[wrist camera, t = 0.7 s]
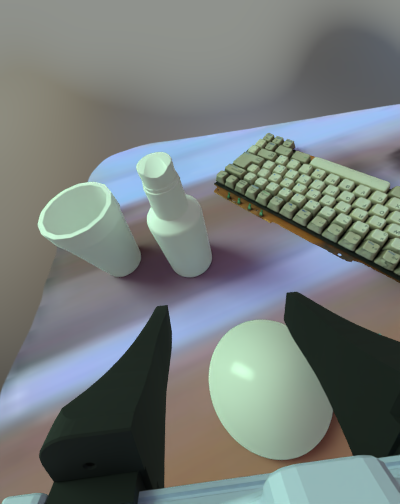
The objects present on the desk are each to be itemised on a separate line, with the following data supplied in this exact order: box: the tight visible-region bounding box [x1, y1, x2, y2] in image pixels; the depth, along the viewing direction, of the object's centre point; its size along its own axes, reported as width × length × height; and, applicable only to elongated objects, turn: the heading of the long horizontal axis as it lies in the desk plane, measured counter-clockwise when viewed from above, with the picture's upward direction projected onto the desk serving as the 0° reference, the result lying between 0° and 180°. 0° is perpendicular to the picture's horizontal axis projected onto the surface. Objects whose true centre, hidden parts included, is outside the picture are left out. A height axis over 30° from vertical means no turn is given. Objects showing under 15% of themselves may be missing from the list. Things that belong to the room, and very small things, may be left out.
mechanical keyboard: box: [214, 133, 400, 283], centre depth 37 cm, size 38×19×3 cm, turn 46°
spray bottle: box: [136, 152, 212, 277], centre depth 28 cm, size 7×7×18 cm
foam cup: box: [38, 182, 141, 277], centre depth 32 cm, size 10×9×13 cm
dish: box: [209, 320, 333, 460], centre depth 24 cm, size 13×13×1 cm
